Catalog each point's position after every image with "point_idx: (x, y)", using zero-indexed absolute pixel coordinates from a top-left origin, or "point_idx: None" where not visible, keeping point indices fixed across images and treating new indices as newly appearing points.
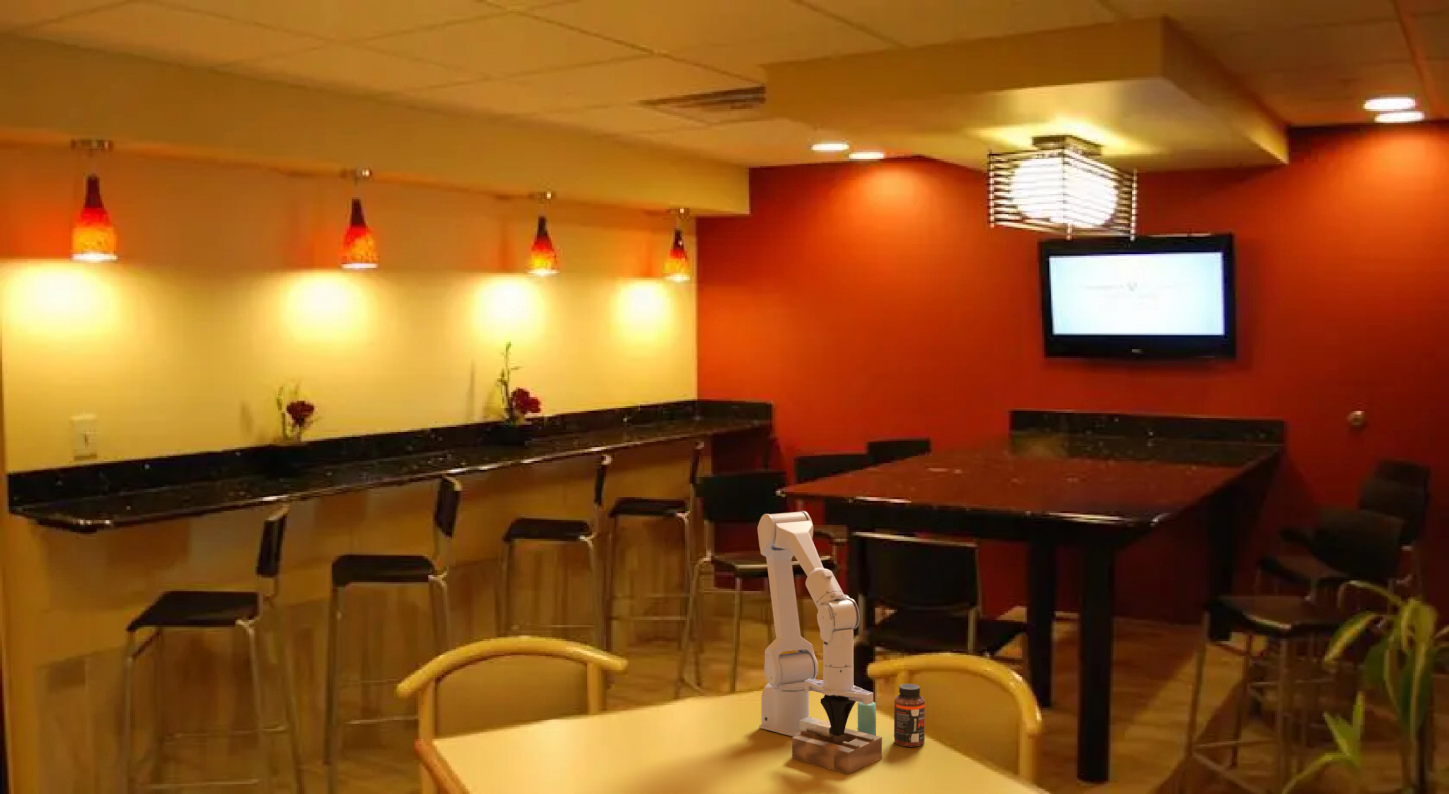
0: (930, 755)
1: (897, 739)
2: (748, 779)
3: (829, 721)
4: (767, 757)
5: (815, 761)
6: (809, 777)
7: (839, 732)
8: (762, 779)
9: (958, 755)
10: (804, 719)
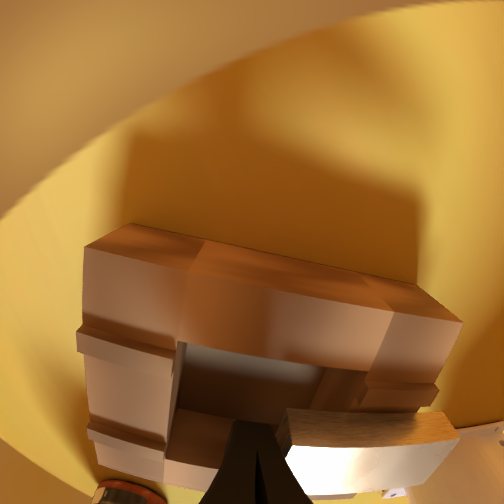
0: (50, 446)
1: (141, 496)
2: (457, 26)
3: (296, 478)
4: (487, 255)
5: (311, 267)
6: (272, 107)
7: (229, 439)
8: (424, 32)
9: (19, 448)
10: (440, 457)
